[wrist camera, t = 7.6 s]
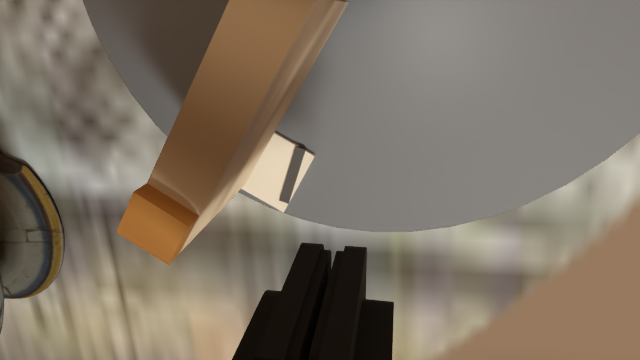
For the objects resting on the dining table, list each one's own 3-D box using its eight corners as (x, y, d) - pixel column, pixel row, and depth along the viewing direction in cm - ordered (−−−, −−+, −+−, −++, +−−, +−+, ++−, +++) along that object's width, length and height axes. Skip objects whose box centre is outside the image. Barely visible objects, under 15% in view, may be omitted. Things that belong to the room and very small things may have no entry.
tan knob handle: (348, -234, 12) (287, -461, 6) (498, -131, 12) (577, -259, 6) (179, 133, 17) (59, 197, 11) (286, 201, 17) (223, 299, 11)
